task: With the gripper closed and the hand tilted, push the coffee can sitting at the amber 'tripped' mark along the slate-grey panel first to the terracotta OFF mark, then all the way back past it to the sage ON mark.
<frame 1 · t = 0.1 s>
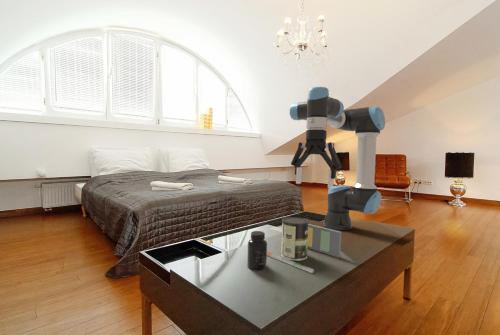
hand: (313, 185, 98), 28 cm above the table, tool pointing down, fingers open, 13 cm apart
supplement bottle: (256, 266, 90), on the table
front rail: (282, 260, 95), on the table
coffee can: (293, 256, 100), on the table
panel board: (310, 248, 109), on the table
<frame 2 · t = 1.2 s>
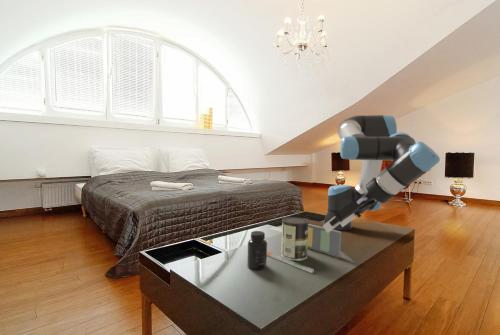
hand: (333, 226, 88), 15 cm above the table, tool tilted 45°, fingers open, 10 cm apart
nothing on the table moved.
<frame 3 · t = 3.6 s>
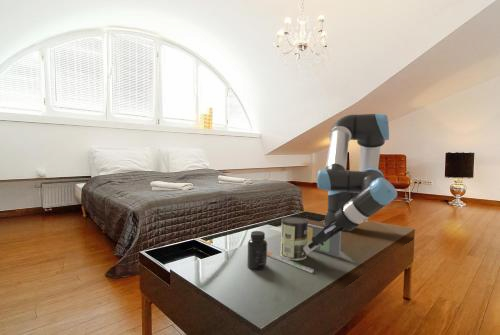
hand: (305, 250, 96), 4 cm above the table, tool tilted 45°, fingers closed
coffee can: (293, 255, 100), on the table, touching gripper
everything else where it was.
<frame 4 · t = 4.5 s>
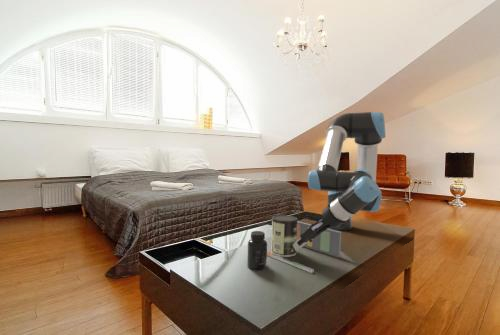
hand: (295, 247, 99), 4 cm above the table, tool tilted 45°, fingers closed
coffee can: (283, 252, 104), on the table, touching gripper
everything else where it was.
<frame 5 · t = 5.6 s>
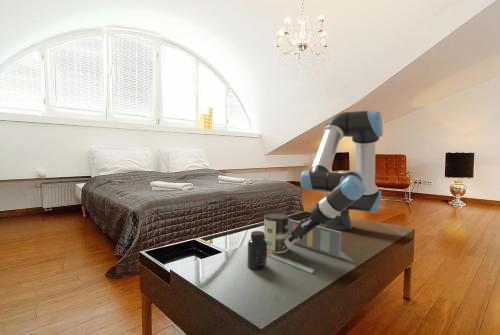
hand: (286, 244, 103), 4 cm above the table, tool tilted 45°, fingers closed
coffee can: (275, 249, 107), on the table, touching gripper
everything else where it was.
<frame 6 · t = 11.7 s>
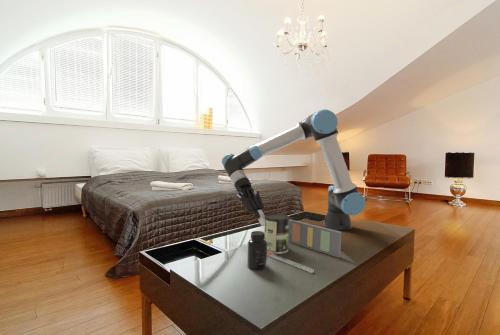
hand: (265, 224, 110), 9 cm above the table, tool tilted 45°, fingers closed
nothing on the table moved.
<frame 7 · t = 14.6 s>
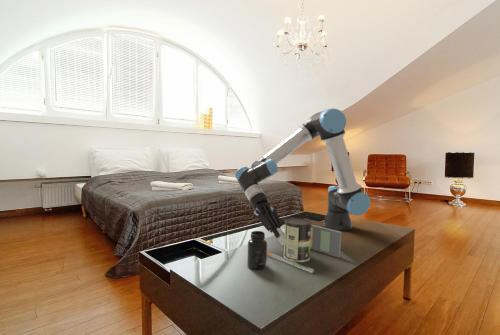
hand: (284, 243, 103), 4 cm above the table, tool tilted 45°, fingers closed
coffee can: (296, 257, 99), on the table, touching gripper
everything else where it was.
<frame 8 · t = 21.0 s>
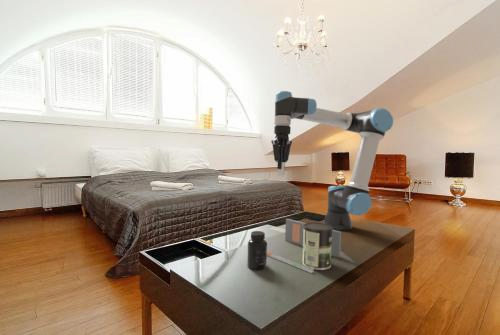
hand: (280, 175, 121), 29 cm above the table, tool pointing down, fingers closed
coffee can: (316, 264, 93), on the table
everything else where it was.
at the end: coffee can inside the target area (2.5 cm from its centre), on the table; coffee can tilted 0° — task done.
